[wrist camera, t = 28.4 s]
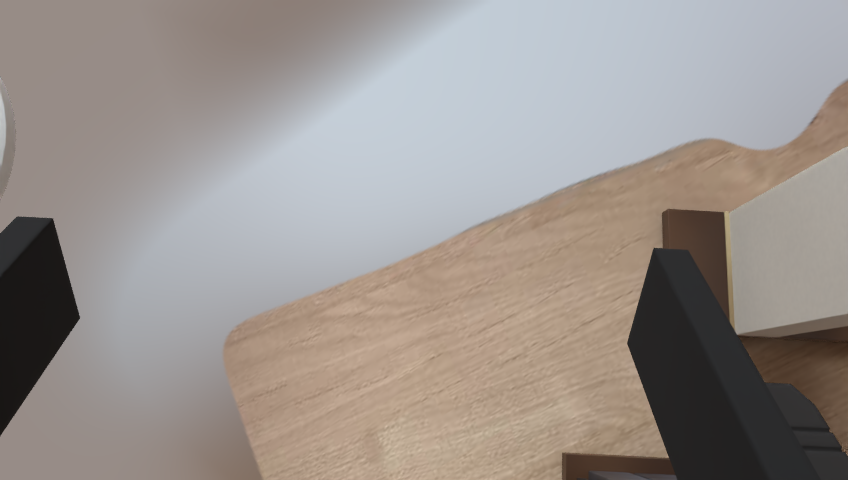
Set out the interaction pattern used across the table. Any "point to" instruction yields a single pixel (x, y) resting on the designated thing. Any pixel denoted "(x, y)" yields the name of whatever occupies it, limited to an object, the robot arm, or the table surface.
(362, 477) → the table surface
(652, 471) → the grey book row
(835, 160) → the white book
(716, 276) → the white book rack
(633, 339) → the robot arm
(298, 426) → the table surface
